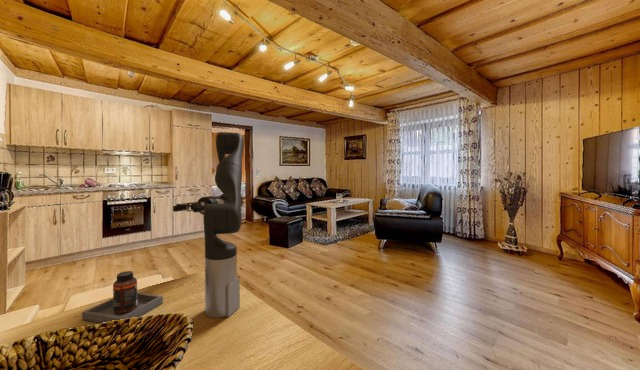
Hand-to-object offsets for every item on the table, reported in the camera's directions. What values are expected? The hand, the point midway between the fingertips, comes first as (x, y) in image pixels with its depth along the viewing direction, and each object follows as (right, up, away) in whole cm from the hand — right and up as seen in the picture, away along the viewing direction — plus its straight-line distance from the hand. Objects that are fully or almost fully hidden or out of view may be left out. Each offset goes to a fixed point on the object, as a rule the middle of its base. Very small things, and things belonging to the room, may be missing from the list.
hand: (183, 209), depth 96 cm
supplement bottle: (-10, -29, -16) cm, 35 cm away
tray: (-10, -30, -16) cm, 35 cm away
